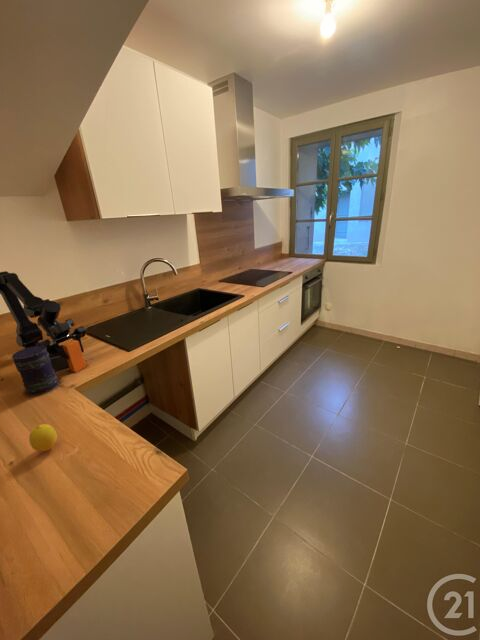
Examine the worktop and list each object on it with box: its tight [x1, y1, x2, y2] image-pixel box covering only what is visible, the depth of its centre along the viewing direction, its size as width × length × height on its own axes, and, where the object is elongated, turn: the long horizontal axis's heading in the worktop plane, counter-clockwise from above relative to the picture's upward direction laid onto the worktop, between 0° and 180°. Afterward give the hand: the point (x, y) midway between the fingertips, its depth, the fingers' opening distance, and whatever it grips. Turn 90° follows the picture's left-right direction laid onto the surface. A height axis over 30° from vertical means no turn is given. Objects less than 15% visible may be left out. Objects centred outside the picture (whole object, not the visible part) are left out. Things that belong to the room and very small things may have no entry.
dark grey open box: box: [49, 344, 70, 372], centre depth 113 cm, size 14×13×6 cm
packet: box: [61, 339, 87, 373], centre depth 106 cm, size 3×5×12 cm
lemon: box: [28, 423, 58, 452], centre depth 68 cm, size 6×6×8 cm
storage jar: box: [11, 346, 59, 396], centre depth 94 cm, size 10×10×15 cm
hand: (76, 355), depth 106 cm, fingers open, 6 cm apart
